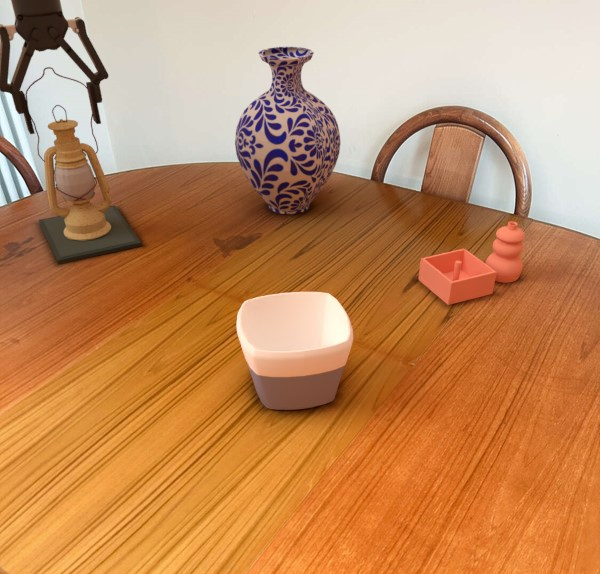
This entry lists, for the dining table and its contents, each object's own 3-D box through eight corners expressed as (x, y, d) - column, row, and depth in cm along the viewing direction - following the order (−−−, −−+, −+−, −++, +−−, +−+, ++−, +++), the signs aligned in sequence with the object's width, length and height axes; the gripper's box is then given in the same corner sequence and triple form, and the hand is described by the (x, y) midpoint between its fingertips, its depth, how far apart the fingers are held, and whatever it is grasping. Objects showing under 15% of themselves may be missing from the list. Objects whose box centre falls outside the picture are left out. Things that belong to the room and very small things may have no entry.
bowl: (335, 349, 101) (338, 285, 94) (359, 413, 89) (364, 346, 82) (236, 360, 99) (230, 295, 92) (247, 427, 87) (242, 359, 80)
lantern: (116, 215, 136) (83, 57, 117) (120, 236, 129) (86, 70, 110) (56, 224, 134) (12, 63, 115) (57, 245, 127) (11, 77, 107)
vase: (219, 204, 143) (205, 52, 124) (292, 178, 154) (290, 35, 135) (284, 236, 131) (281, 73, 112) (358, 206, 142) (367, 53, 123)
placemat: (58, 264, 123) (57, 259, 122) (39, 223, 136) (38, 219, 136) (141, 246, 128) (141, 241, 127) (115, 208, 142) (114, 204, 141)
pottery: (448, 305, 111) (456, 251, 104) (418, 279, 117) (424, 228, 111) (533, 283, 116) (546, 231, 110) (500, 259, 123) (511, 209, 117)
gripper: (-45, -6, 98) (-1, 143, 112) (111, -18, 106) (134, 122, 120) (-49, -13, 103) (-6, 130, 117) (99, -24, 111) (123, 111, 125)
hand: (64, 126), depth 119 cm, fingers closed on lantern, 11 cm apart
